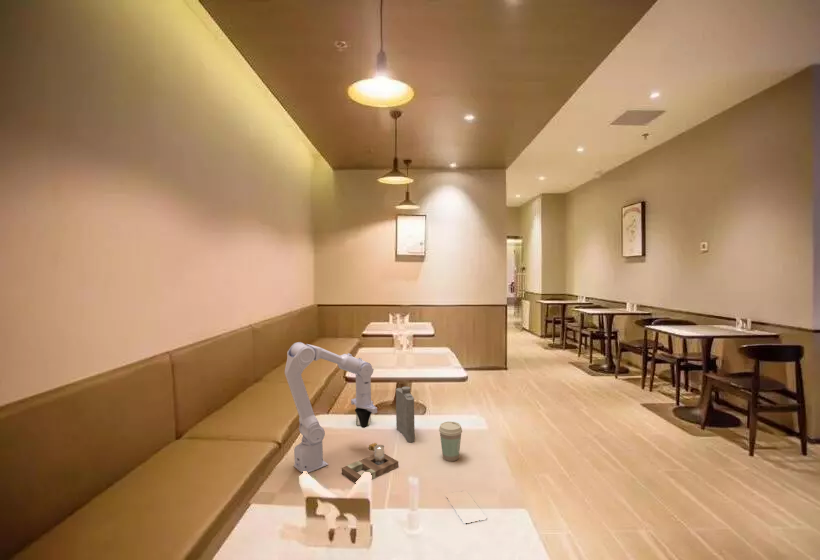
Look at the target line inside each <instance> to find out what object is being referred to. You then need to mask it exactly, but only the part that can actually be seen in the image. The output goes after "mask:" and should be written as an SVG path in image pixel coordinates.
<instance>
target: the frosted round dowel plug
mask: <svg viewBox="0 0 820 560" xmlns="http://www.w3.org/2000/svg"><path fill="white" fill-rule="evenodd" d="M374 450H375V452H374V454H375V464H377V465H381V464H383V463H384V454H385V446H384V445H383V444H377V445H376V446H375V447H374Z"/></svg>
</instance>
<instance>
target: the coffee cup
mask: <svg viewBox="0 0 820 560" xmlns="http://www.w3.org/2000/svg"><path fill="white" fill-rule="evenodd" d="M438 432H439V435H440V444H441V452H442V458H443V459H444V460H445V461H448V462H455V461H457V460H459V459H460V451H461V442H462V441H461V439H462V433H463V427H462V426H461V424H460V423H459V422H456V421H444V422H442V423H440V426H439V428H438Z"/></svg>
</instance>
